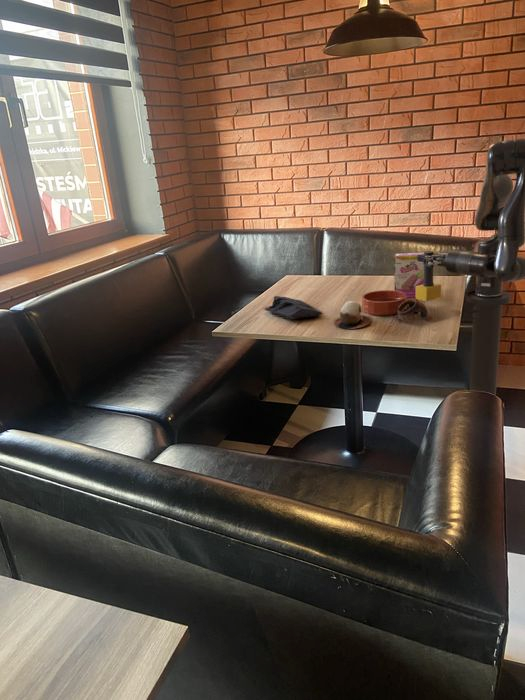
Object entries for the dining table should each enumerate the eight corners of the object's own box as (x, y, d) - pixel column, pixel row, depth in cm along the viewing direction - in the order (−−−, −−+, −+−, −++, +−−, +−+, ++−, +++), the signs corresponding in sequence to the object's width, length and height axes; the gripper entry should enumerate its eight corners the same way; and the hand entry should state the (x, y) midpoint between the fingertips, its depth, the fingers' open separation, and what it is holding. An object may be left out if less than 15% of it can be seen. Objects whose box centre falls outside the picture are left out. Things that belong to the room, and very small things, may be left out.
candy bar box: (394, 299, 202) (393, 256, 197) (395, 295, 207) (394, 253, 201) (425, 298, 199) (425, 254, 193) (425, 294, 204) (425, 251, 198)
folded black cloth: (286, 324, 185) (285, 311, 183) (263, 310, 205) (261, 298, 203) (325, 315, 190) (324, 302, 188) (299, 302, 209) (298, 290, 208)
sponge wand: (429, 294, 188) (430, 249, 183) (440, 297, 184) (441, 250, 179) (415, 299, 185) (415, 252, 180) (426, 301, 181) (427, 254, 175)
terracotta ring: (379, 301, 202) (378, 288, 200) (415, 307, 190) (415, 293, 189) (353, 311, 192) (352, 298, 190) (390, 318, 181) (390, 304, 179)
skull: (341, 312, 188) (358, 292, 182) (362, 333, 186) (380, 314, 180) (325, 322, 179) (343, 301, 173) (347, 344, 177) (366, 324, 171)
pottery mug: (432, 325, 172) (420, 306, 168) (405, 337, 176) (393, 318, 173) (430, 306, 181) (419, 287, 178) (405, 317, 186) (393, 299, 182)
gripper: (479, 247, 170) (435, 242, 184) (450, 254, 164) (407, 249, 178) (478, 270, 173) (435, 264, 187) (449, 278, 166) (407, 271, 180)
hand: (421, 256), depth 182 cm, fingers closed on sponge wand, 3 cm apart
